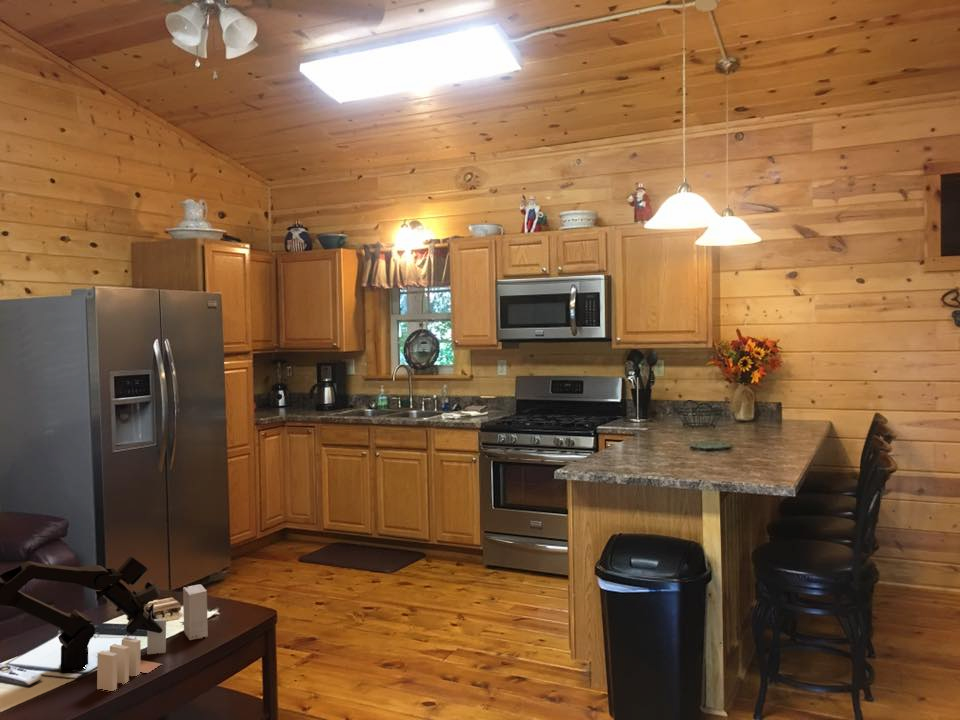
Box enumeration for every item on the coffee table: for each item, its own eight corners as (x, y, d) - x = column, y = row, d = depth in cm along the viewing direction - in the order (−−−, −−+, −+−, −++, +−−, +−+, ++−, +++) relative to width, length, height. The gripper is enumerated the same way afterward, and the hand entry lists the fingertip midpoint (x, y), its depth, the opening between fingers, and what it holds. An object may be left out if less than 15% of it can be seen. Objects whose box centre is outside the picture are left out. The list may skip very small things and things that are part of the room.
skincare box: (208, 637, 240) (208, 591, 239) (188, 641, 236) (188, 594, 235) (201, 627, 247) (202, 582, 246) (182, 631, 243) (182, 586, 242)
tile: (121, 669, 217) (121, 668, 217) (136, 660, 222) (136, 659, 222) (147, 674, 214) (147, 673, 214) (162, 665, 220) (162, 663, 220)
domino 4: (165, 652, 228) (165, 620, 227) (147, 654, 226) (147, 621, 226) (165, 650, 229) (166, 618, 229) (147, 652, 228) (148, 619, 227)
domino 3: (136, 677, 213) (136, 642, 212) (121, 674, 214) (121, 639, 213) (140, 674, 214) (140, 640, 213) (125, 671, 215) (125, 637, 215)
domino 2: (124, 684, 208) (125, 649, 208) (109, 681, 210) (109, 646, 209) (128, 681, 210) (129, 646, 209) (113, 678, 211) (114, 643, 210)
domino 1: (112, 692, 204) (112, 656, 203) (97, 689, 205) (97, 653, 205) (116, 689, 205) (117, 653, 205) (101, 686, 207) (101, 650, 206)
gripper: (138, 588, 216) (179, 622, 220) (146, 566, 234) (184, 599, 238) (108, 617, 215) (150, 651, 219) (118, 593, 232) (157, 625, 236)
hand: (161, 630), depth 228 cm, fingers closed on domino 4, 2 cm apart
